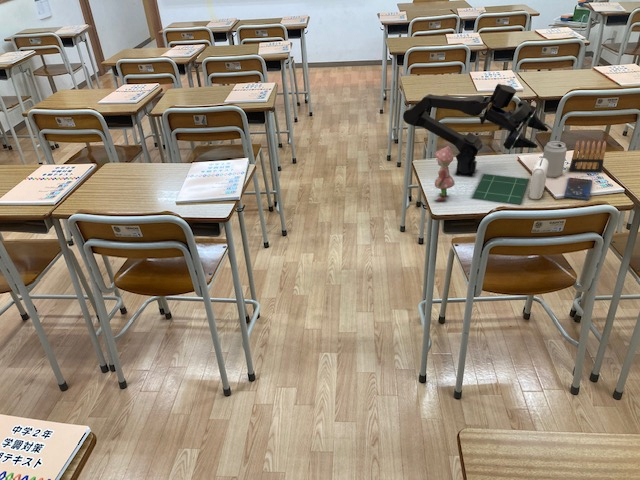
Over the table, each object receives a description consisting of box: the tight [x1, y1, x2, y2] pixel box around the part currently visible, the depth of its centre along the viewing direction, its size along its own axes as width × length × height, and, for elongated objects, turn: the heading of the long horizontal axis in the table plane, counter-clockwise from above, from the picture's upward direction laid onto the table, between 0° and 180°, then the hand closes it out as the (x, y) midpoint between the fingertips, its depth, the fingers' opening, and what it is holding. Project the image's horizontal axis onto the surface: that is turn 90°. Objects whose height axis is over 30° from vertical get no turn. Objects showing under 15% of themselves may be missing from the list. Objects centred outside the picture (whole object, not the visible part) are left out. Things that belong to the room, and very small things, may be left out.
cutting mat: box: [471, 173, 529, 205], centre depth 175 cm, size 16×20×1 cm
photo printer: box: [528, 157, 548, 200], centre depth 167 cm, size 10×4×12 cm, turn 152°
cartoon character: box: [434, 145, 455, 202], centre depth 168 cm, size 10×7×20 cm
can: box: [542, 140, 568, 178], centre depth 178 cm, size 8×8×12 cm
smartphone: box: [564, 177, 593, 201], centre depth 169 cm, size 8×1×15 cm
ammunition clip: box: [568, 140, 607, 173], centre depth 177 cm, size 11×2×12 cm, turn 75°
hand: (542, 138), depth 167 cm, fingers open, 9 cm apart
